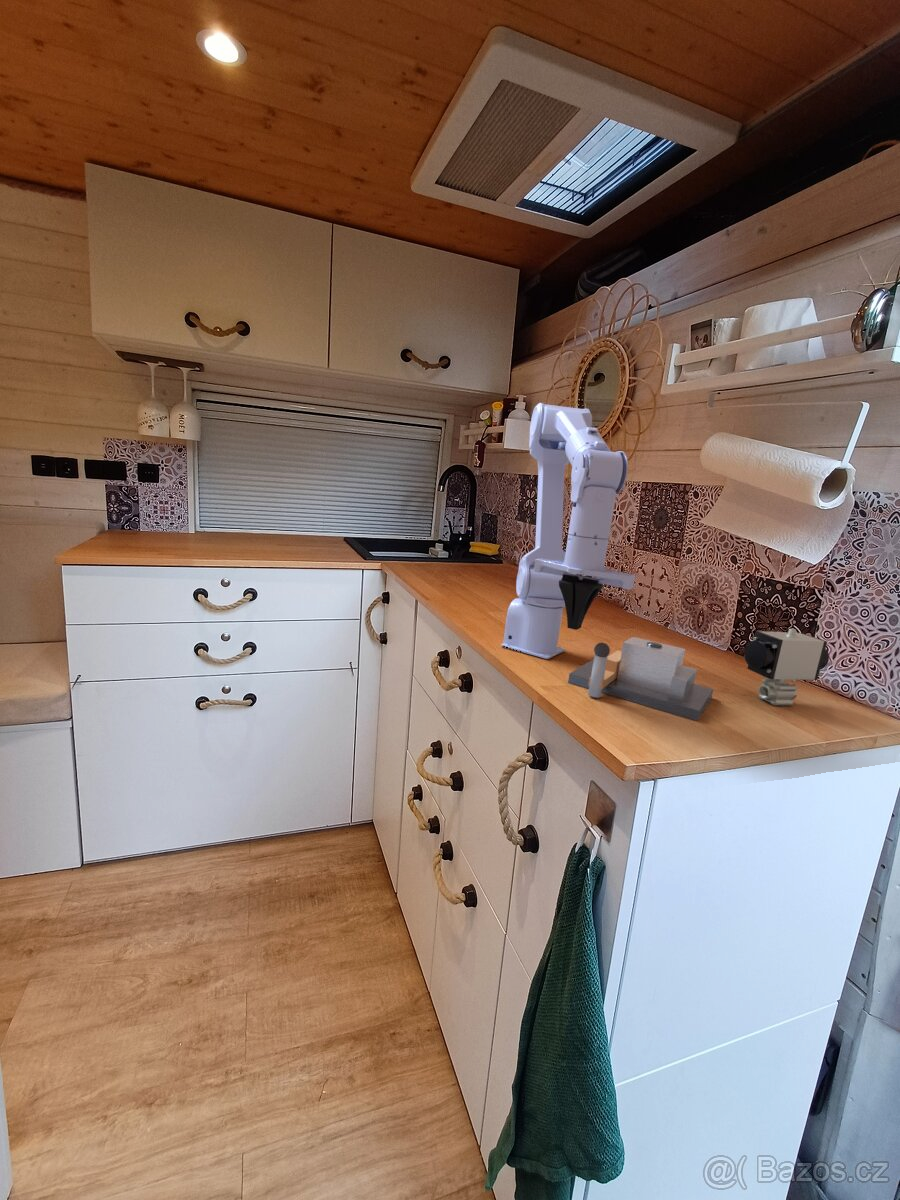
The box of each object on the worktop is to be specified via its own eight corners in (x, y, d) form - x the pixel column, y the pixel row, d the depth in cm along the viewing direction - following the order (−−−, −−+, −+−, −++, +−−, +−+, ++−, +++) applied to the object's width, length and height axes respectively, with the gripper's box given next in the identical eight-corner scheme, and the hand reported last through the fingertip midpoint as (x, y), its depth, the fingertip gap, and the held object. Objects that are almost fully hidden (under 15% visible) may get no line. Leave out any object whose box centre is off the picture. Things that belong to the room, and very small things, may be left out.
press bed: (567, 682, 87) (572, 655, 86) (594, 666, 97) (598, 641, 96) (697, 720, 77) (703, 690, 76) (711, 698, 87) (717, 670, 86)
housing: (616, 679, 86) (623, 640, 85) (626, 672, 90) (632, 635, 89) (670, 694, 82) (678, 654, 80) (677, 686, 86) (685, 647, 84)
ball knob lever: (584, 694, 81) (593, 642, 80) (613, 674, 92) (621, 627, 91) (599, 699, 80) (608, 646, 78) (626, 677, 91) (634, 630, 89)
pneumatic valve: (817, 708, 87) (836, 634, 84) (755, 708, 84) (773, 632, 82) (789, 694, 92) (806, 625, 90) (729, 694, 89) (745, 622, 87)
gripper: (530, 530, 80) (518, 620, 83) (630, 545, 72) (613, 644, 75) (550, 529, 86) (538, 614, 89) (645, 543, 78) (628, 635, 81)
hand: (574, 627), depth 82 cm, fingers closed
